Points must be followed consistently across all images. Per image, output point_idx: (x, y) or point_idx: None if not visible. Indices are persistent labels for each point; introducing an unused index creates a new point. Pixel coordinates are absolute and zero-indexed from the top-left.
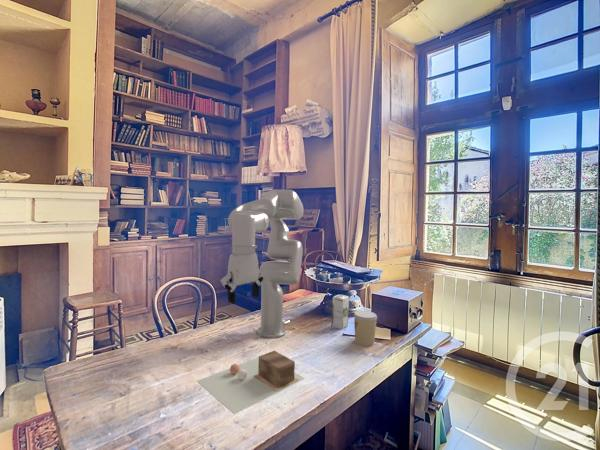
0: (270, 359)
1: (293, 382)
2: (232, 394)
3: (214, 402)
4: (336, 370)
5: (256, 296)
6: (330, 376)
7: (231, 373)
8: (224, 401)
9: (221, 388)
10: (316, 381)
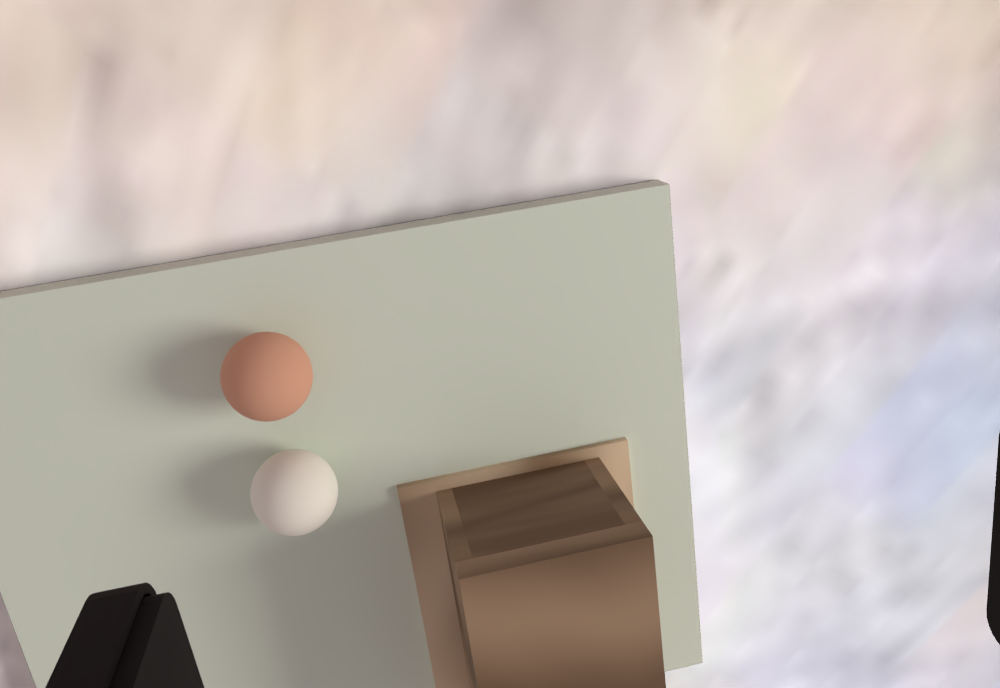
0: (523, 670)
1: None
2: None
3: None
4: (957, 613)
5: (997, 609)
6: (870, 656)
7: None
8: None
9: (86, 524)
10: (757, 666)
